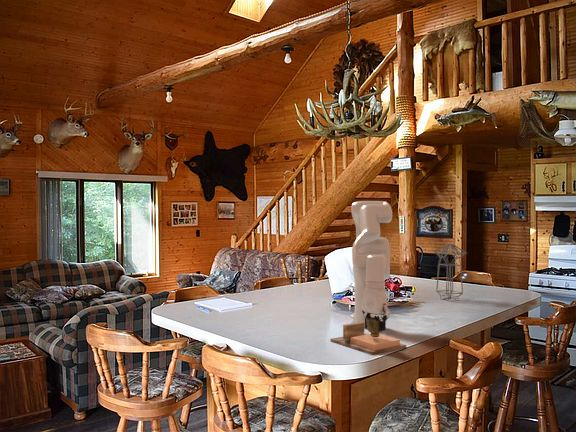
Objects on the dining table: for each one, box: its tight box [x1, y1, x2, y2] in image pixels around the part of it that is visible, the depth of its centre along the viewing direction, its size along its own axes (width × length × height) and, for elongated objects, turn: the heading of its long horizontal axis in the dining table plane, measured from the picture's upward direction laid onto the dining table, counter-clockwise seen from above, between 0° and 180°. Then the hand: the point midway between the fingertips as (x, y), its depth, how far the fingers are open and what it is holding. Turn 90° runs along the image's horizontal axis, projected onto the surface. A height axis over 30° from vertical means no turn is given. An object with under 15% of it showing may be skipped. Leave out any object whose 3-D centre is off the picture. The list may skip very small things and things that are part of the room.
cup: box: [366, 315, 383, 337], centre depth 212 cm, size 8×7×8 cm
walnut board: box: [329, 322, 407, 356], centre depth 215 cm, size 25×19×7 cm
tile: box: [351, 333, 401, 350], centre depth 212 cm, size 14×14×2 cm
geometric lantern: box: [433, 243, 468, 300], centre depth 324 cm, size 16×16×35 cm
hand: (375, 328), depth 212 cm, fingers closed on cup, 7 cm apart
